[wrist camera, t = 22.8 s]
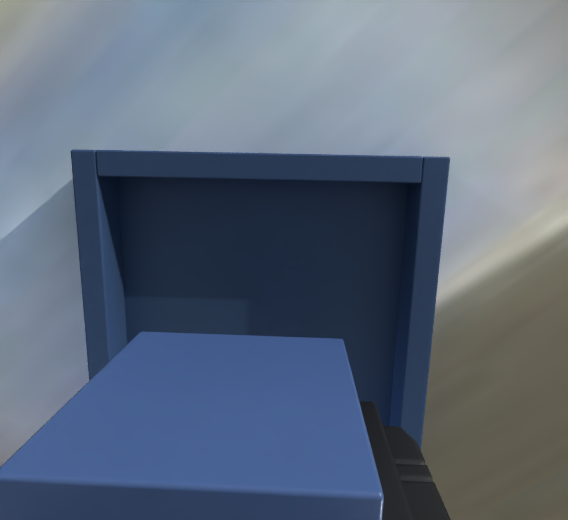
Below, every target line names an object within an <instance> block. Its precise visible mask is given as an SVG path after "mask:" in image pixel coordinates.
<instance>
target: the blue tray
mask: <svg viewBox="0 0 568 520" xmlns="http://www.w3.org/2000/svg"><path fill="white" fill-rule="evenodd" d="M71 160H72V173H73V185H74V197H75V209H76V222H77V234H78V246H79V259H80V271H81V283H82V295H83V308H84V320H85V332H86V344H87V357H88V369H89V381H90V380H91V379H92V378H93V377H94V376H95V375H96V374H97V373H98V372H99V371H100V370H101V369H102V368H103V367H105V366H106V365H107V364H108V363H109V362H110V361H111V360H112V359H113V358H114V357H115V356H116V355H117V354H118V353H119V352H120V351H121V350H122V349H123V348H124V347H125V346H126V345H127V344H128V343H129V342H130V341H131V340H132V339H133V338H135V337H136V336H137V335H138V334H139V333H140V332H168V333H196V334H223V335H251V336H278V337H306V338H333V339H343V341H344V345H345V348H346V352H347V356H348V360H349V364H350V368H351V371H352V375H353V379H354V383H355V387H356V391H357V395H358V398H359V401H374V402H375V404H376V406H377V409H378V413H379V416H380V419H381V422H382V425H383V426H399V427H401V428H402V429H403V430H404V431H405V432H406V433H407V434H408V435H410V436H411V437H412V438H413V439H414V440H415V441H416V442H417V444H418V446H419V449H420V451H421V443H422V433H423V423H424V413H425V403H426V393H427V383H428V373H429V363H430V353H431V343H432V333H433V323H434V313H435V303H436V293H437V283H438V273H439V263H440V253H441V243H442V233H443V223H444V213H445V203H446V193H447V183H448V173H449V163H450V158H449V157H422V156H373V155H322V154H272V153H222V152H172V151H121V150H71Z"/></svg>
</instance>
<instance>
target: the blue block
mask: <svg viewBox="0 0 568 520" xmlns="http://www.w3.org/2000/svg"><path fill="white" fill-rule="evenodd" d="M383 503H384V494H383V491H382V487H381V483H380V479H379V475H378V471H377V467H376V464H375V460H374V456H373V452H372V448H371V444H370V441H369V437H368V433H367V429H366V425H365V421H364V418H363V414H362V410H361V406H360V402H359V398H358V395H357V391H356V387H355V383H354V379H353V375H352V371H351V368H350V364H349V360H348V356H347V352H346V348H345V345H344V341H343V339H333V338H306V337H278V336H251V335H223V334H196V333H168V332H140V333H139V334H138V335H137V336H136V337H135V338H133V339H132V340H131V341H130V342H129V343H128V344H127V345H126V346H125V347H124V348H123V349H122V350H121V351H120V352H119V353H118V354H117V355H116V356H115V357H114V358H113V359H112V360H111V361H110V362H109V363H108V364H107V365H106V366H105V367H103V368H102V369H101V370H100V371H99V372H98V373H97V374H96V375H95V376H94V377H93V378H92V379H91V380H90V381H89V382H88V383H87V384H86V385H85V386H84V387H83V388H82V389H81V390H80V391H79V392H78V393H77V394H76V395H75V396H74V397H72V398H71V399H70V400H69V401H68V402H67V403H66V404H65V405H64V406H63V407H62V408H61V409H60V410H59V411H58V412H57V413H56V414H55V415H54V416H53V417H52V418H51V419H50V420H49V421H48V422H47V423H46V424H45V425H44V426H43V427H41V428H40V429H39V430H38V431H37V432H36V433H35V434H34V435H33V436H32V437H31V438H30V439H29V440H28V441H27V442H26V443H25V444H24V445H23V446H22V447H21V448H20V449H19V450H18V451H17V452H16V453H15V454H14V455H13V456H11V457H10V458H9V459H8V460H7V461H6V462H5V463H4V464H3V465H2V466H1V467H0V520H382V515H383Z"/></svg>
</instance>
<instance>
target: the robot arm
mask: <svg viewBox="0 0 568 520" xmlns="http://www.w3.org/2000/svg"><path fill="white" fill-rule="evenodd" d="M359 402H360V406H361V410H362V414H363V418H364V421H365V425H366V429H367V433H368V437H369V441H370V444H371V448H372V452H373V456H374V460H375V464H376V467H377V471H378V475H379V479H380V483H381V487H382V491H383V494H384V503H383V515H382V520H450V517H449V515H448V513H447V510H446V508H445V506H444V504H443V501H442V499H441V497H440V494H439V492H438V490H437V488H436V485H435V483H434V482H433V481H432V476H431V474H430V471H429V469H428V467H427V465H425V460H424V458H423V455H422V453H421V451H420V449H419V446H418V444H417V442H416V441H415V440H414V439H413V438H412V437H411V436H410V435H408V434H407V433H406V432H405V431H404V430H403V429H402V428H401V427H399V426H383V425H382V422H381V419H380V416H379V413H378V409H377V406H376V404H375V402H374V401H359Z"/></svg>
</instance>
